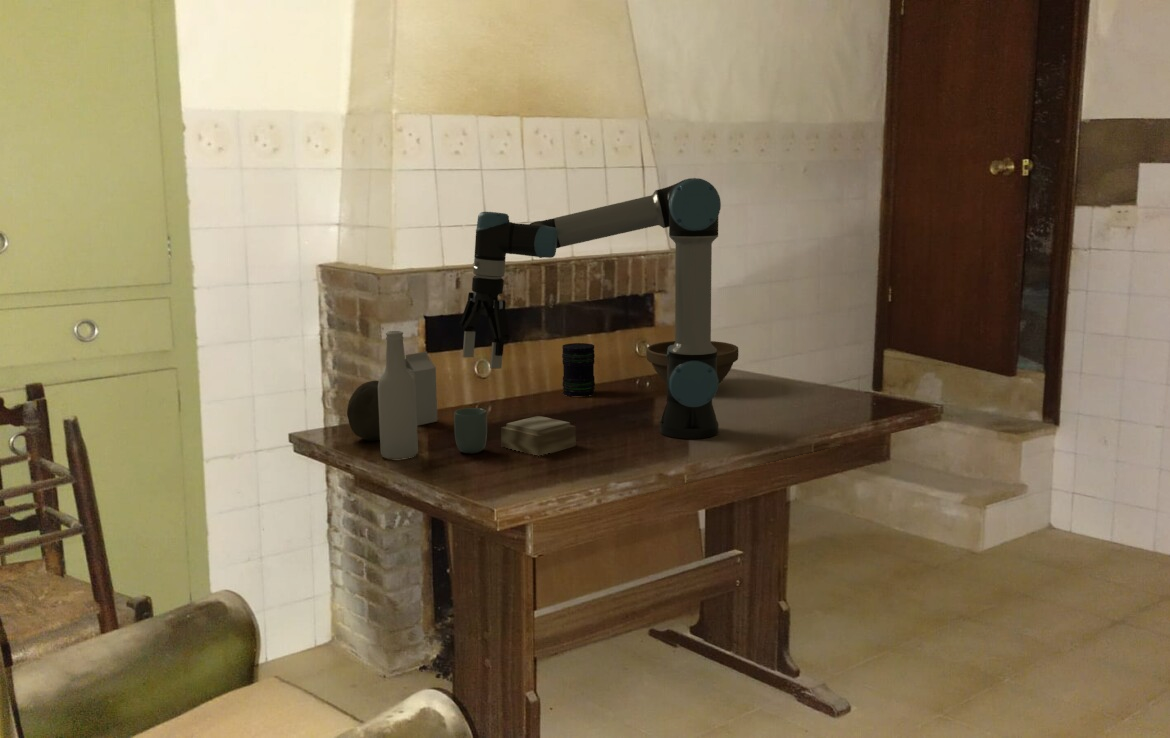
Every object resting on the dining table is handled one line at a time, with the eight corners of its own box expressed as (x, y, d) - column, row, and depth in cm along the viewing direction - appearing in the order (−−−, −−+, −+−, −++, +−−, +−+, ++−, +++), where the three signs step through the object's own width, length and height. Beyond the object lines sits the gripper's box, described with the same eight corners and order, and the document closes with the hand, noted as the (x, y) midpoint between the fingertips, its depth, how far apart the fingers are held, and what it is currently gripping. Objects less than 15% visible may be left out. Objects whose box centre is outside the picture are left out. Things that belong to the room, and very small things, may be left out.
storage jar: (594, 397, 315) (594, 348, 312) (562, 397, 315) (561, 348, 312) (595, 390, 325) (594, 343, 322) (563, 390, 325) (562, 343, 322)
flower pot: (670, 401, 309) (670, 357, 306) (631, 383, 335) (631, 343, 333) (755, 393, 319) (756, 350, 317) (710, 377, 345) (711, 337, 343)
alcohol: (411, 461, 247) (406, 335, 241) (375, 460, 248) (369, 334, 243) (422, 451, 255) (418, 329, 250) (388, 450, 257) (383, 328, 251)
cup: (482, 456, 251) (481, 415, 249) (451, 455, 252) (449, 414, 250) (491, 448, 258) (490, 408, 256) (461, 446, 260) (459, 407, 258)
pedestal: (575, 446, 260) (575, 422, 258) (538, 456, 250) (538, 432, 249) (538, 437, 268) (538, 414, 267) (501, 447, 259) (500, 423, 258)
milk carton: (437, 421, 286) (435, 352, 282) (416, 426, 281) (414, 356, 277) (421, 417, 291) (418, 350, 287) (400, 422, 286) (397, 353, 282)
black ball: (371, 449, 258) (369, 389, 255) (337, 440, 267) (334, 382, 264) (416, 438, 268) (414, 381, 265) (382, 430, 277) (380, 374, 274)
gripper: (450, 269, 262) (444, 352, 266) (501, 283, 242) (494, 373, 246) (476, 269, 266) (470, 352, 270) (529, 284, 246) (521, 372, 250)
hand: (481, 362), depth 258 cm, fingers open, 13 cm apart
